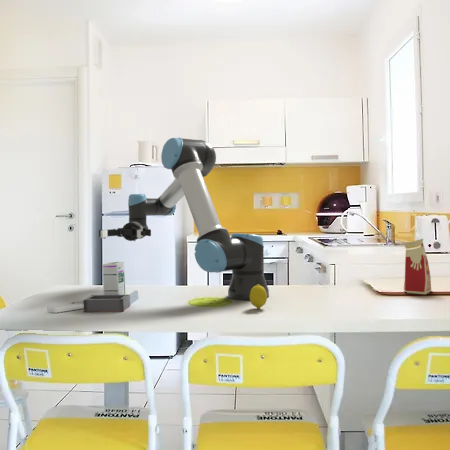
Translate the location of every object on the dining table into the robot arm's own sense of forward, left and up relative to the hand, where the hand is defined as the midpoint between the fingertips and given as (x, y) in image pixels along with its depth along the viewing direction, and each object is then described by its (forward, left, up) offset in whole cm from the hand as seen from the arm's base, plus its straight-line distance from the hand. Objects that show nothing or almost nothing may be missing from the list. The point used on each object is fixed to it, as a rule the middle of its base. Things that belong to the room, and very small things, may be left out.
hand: (119, 234), depth 182 cm
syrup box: (-2, +10, -24) cm, 26 cm away
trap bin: (-3, +19, -24) cm, 31 cm away
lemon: (-53, +13, -24) cm, 60 cm away
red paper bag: (-107, -25, -24) cm, 113 cm away
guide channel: (-1, +7, -24) cm, 25 cm away
